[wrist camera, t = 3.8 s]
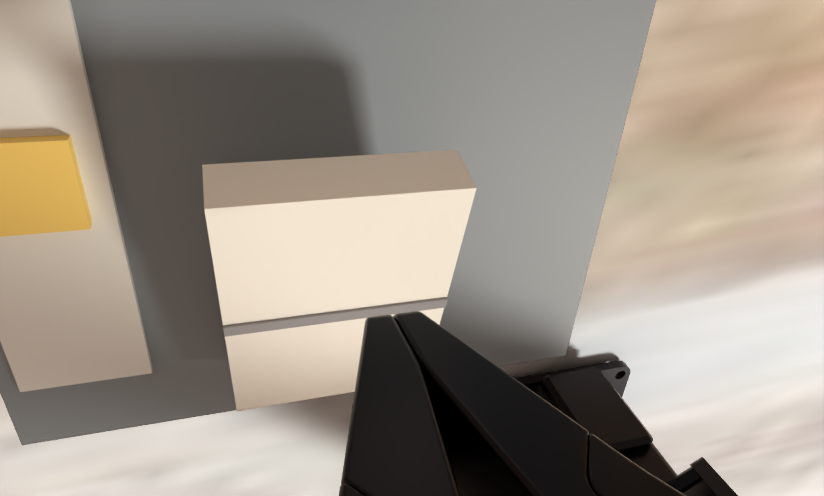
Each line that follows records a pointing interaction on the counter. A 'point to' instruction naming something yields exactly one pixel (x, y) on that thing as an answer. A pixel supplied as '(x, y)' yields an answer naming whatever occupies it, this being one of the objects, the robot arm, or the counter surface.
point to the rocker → (327, 260)
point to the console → (280, 140)
